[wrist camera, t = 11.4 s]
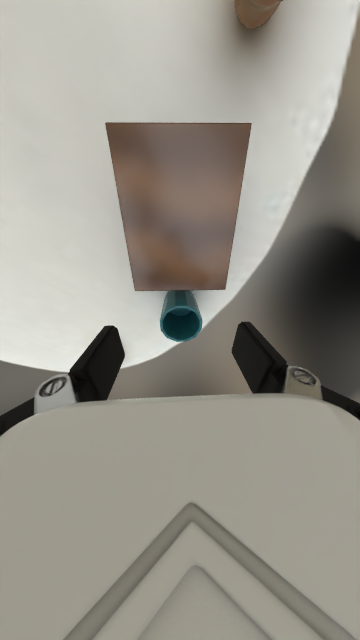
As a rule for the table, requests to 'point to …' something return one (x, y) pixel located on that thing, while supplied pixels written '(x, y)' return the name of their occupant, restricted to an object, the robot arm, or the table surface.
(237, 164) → the stand
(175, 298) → the drinking cup
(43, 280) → the table surface
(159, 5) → the table surface
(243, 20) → the brown ridged oblong lump
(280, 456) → the robot arm
